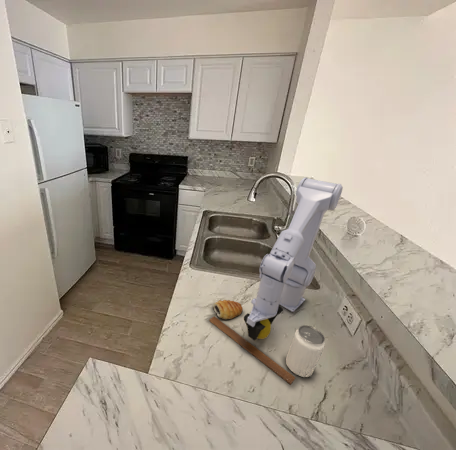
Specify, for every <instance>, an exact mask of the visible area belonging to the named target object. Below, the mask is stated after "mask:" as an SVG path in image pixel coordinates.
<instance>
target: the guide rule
mask: <svg viewBox="0 0 456 450" xmlns="http://www.w3.org/2000/svg"><path fill="white" fill-rule="evenodd" d="M208 321H209V322H210V323H211V324H212V325H214V326H215V327H216V328H218V329H219V330H220V331H221V332H223V333H224V334H225V335H226V336H228V337H229V338H230V339H231V340H232V341H234V342H235V343H237V345H240V347H242V348H243V350H246V351H247V352H248V353H249V354H251V355H252V356H253V357H254V358H255V359H257V360H258V361H260V362H261V363H262V364H263V365H265V366H266V367H267V368H268V369H270V370H271V372H273V373H275V374H276V375H277V376H278V377H280V378H281V379H282V380H283V381H285V382H286V383H287V384H289V385H290V386H291V385H292V384H293V382H294V381H295V380H296V376H294V375H293V374H292V373H290V372H289V371H287V369H285V368H284V367H282V366H281V365H280V364H278V363H277V362H276V361H274V360H273V359H272V358H270V357H269V356H268V355H266V354H265V353H264V352H262V351H261V349H258V348H257V347H256V346H255V345H253V344H252V343H251V342H249V341H248V340H247V339H245V338H244V337H242V336H241V335H240V334H239V333H237V332H236V331H235V330H234V329H232V328H230V327H229V326H228V325H227V324H225V323H224V322H223V321H221V320H220V319H219V318H217V317H216V316H212V317H211V318H209V320H208Z"/></svg>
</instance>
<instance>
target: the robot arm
mask: <svg viewBox="0 0 456 450" xmlns="http://www.w3.org/2000/svg"><path fill="white" fill-rule="evenodd" d="M343 188H344V187H343V185H342V183H334V182H330V181H324V180H319V179H314V178H308V177H303V178H302V179H300V181H299V183H298V184H297V187H296V190H295V197H296V199H295V201H296V204H297V206H296V209H295V211H294V214H293V216H292V219H291V221H290V224H289V226H288V228H286V229H284V230H281V232H280V233H279V236H278V237H277V239H276V241H275V243H274V244H273V247H272V249H271V250H270V252H269V253H267V254H265V255H264V256H263V258H262V260H261V262H260V266H259V276H258V277H259V279H260V281H259V285H258V289H257V293H256V297H255V298H253V299H251V301H250V304H251V305H252V309H251V311H250V313H248V312H247V313H246V314H244V316H243V321H244V323H245V326H246V328H247V336H248V338H250V339H251V340H252V341H256V340H257V339H258V338H257V337H258V335H259V333H260V331H262V330H263V329H264V328H265V327H266V326H264V325H263V324H261V323H260V321H261V320H264V319H268V320H269V321H270V324H271V325H272V324H273V322H274V321H275V319H276V318H277V317H278V315H280V314H282V313H283V311H284V308H285V309H286V310H288V311H290V312H293V313H294V312H295V311H296V310H297V309H298V308H299V307H300V306H301V305H302V304H304V302H305V301H306V298H304V295H305V292H306V288H307V287H309V286H310V285H311V284H312V281H313V279H314V277H315V275H316V269H317V264H316V263H315V262H314V260H313V259H312V258H311V256H310V255H311V252H312V249H313V248H314V247H313V246H314V244H315V241H316V238H317V235H318V233H319V230H320V227H321V225H322V222H323V218H324V216H325V214H326V213H327V212H328V211H335V209H336V208H337V207H338V203H339V201H340V198H341V196H342V193H343V190H344V189H343Z"/></svg>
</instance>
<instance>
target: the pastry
mask: <svg viewBox="0 0 456 450" xmlns="http://www.w3.org/2000/svg"><path fill="white" fill-rule="evenodd" d="M212 307H213V310H214V312H215V313H216V315H217V317H218V318H220V319H222V320H232V319H234V318H236V317H238V316H240V315H241V314H242V313H243V306H242V304H241V303H240V302H238V301H234V300H230V299H228V300H227V299H223V300H222V299H219V300H218V301H216V302H214V303H213V305H212Z"/></svg>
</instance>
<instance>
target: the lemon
mask: <svg viewBox="0 0 456 450" xmlns="http://www.w3.org/2000/svg"><path fill="white" fill-rule="evenodd" d="M260 323H261V324H263V325H264V326H266V327H265V328H264V329H263V330H262V331H260V333H259V335H258V337H257V339H259V340H264V339H266V338H268V336H270V334H271V330H272V324H270V321H269V320H268V319H264V320H261V321H260Z"/></svg>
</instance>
